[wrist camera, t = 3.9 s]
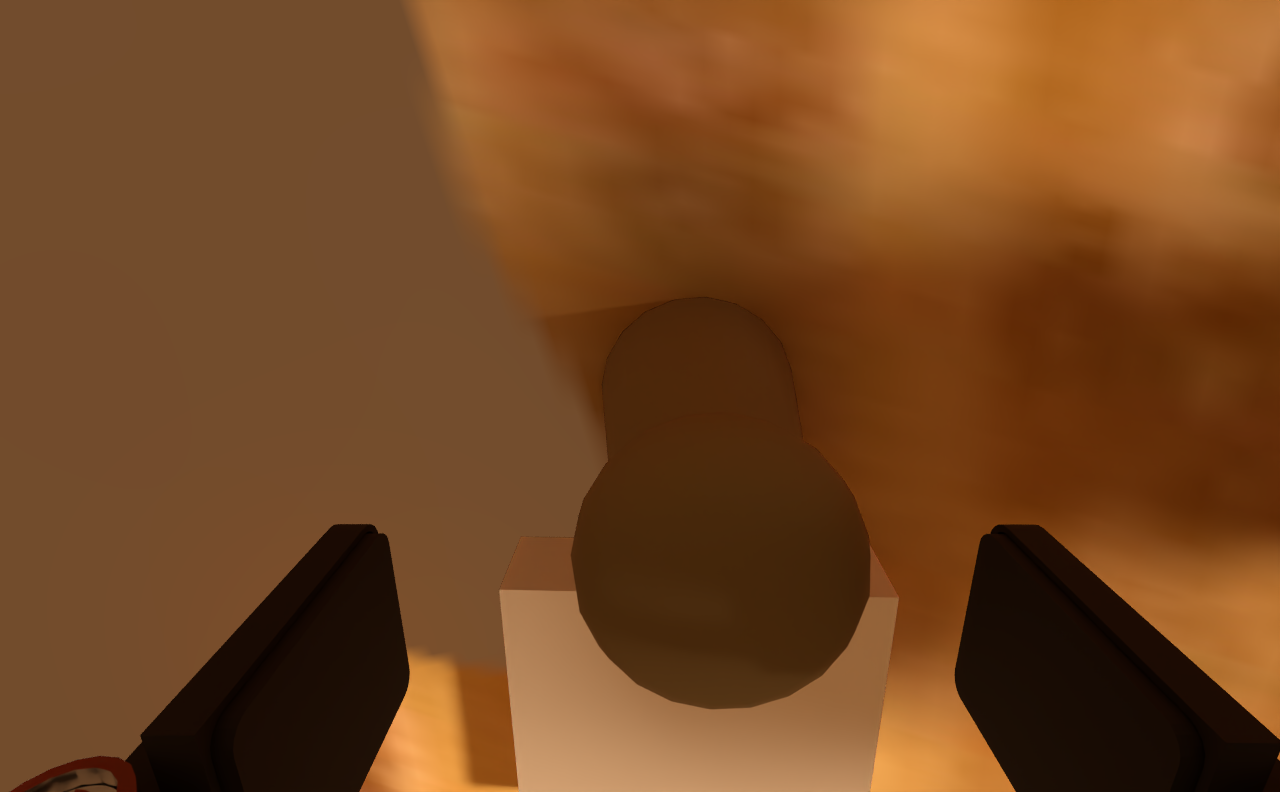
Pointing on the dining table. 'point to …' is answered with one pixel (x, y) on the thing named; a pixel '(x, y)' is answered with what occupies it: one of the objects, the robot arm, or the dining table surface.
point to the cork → (715, 517)
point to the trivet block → (676, 704)
